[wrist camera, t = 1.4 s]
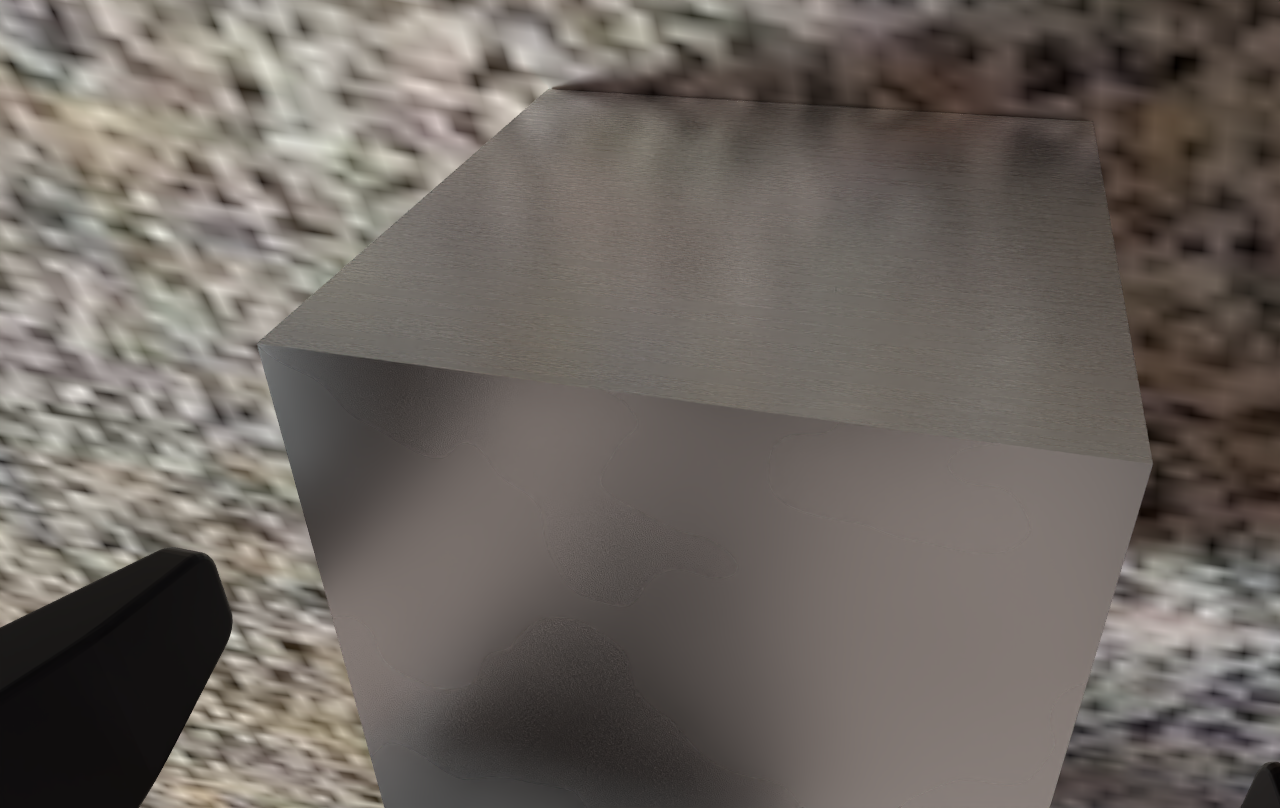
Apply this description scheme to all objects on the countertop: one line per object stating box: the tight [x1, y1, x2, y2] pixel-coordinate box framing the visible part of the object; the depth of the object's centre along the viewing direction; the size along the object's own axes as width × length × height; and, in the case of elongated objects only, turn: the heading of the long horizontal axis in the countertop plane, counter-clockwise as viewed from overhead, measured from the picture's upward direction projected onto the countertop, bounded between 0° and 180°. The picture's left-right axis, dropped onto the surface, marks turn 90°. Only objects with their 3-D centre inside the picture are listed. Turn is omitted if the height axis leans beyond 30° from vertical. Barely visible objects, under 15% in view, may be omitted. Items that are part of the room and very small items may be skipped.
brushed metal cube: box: [257, 89, 1153, 808], centre depth 11 cm, size 6×6×6 cm
